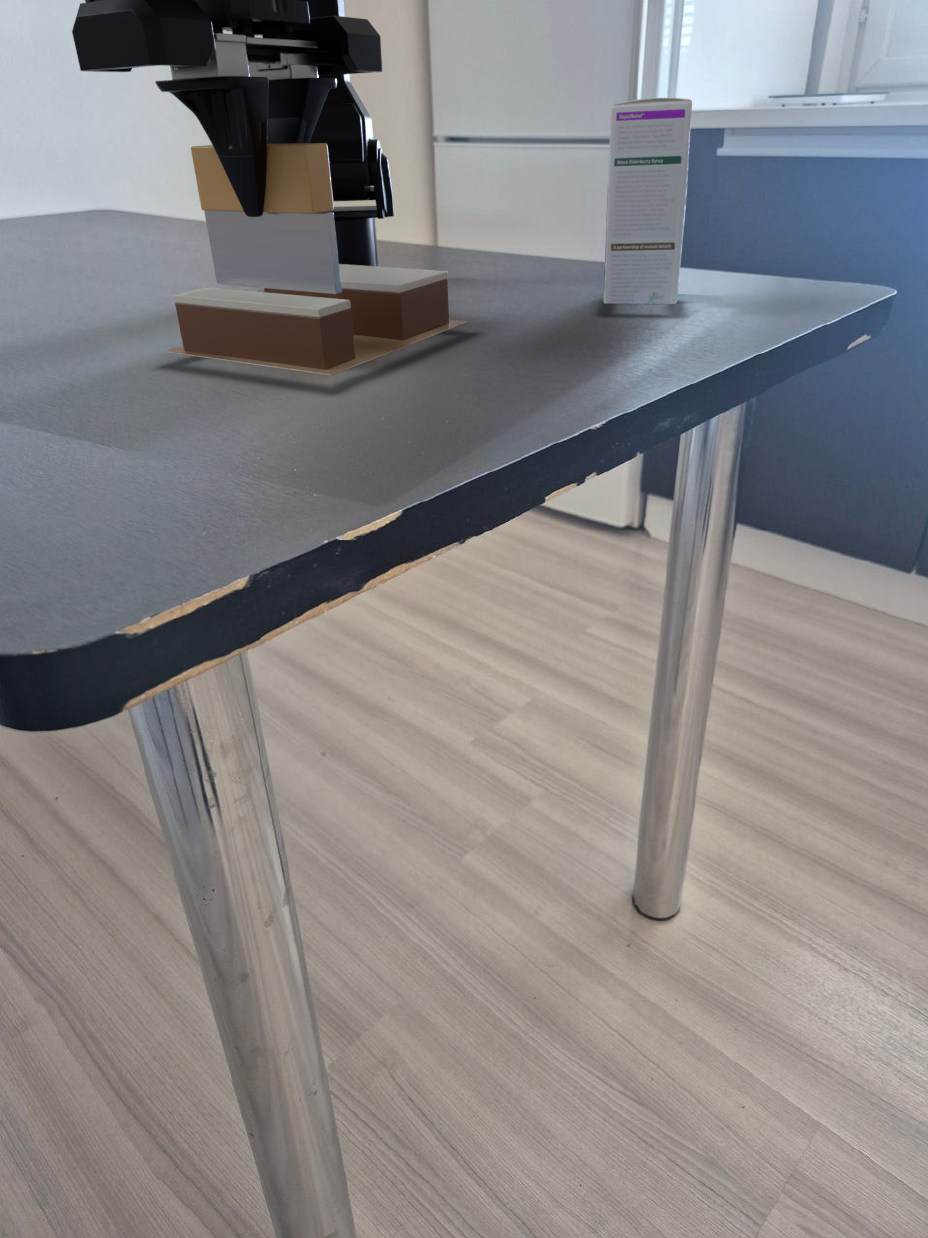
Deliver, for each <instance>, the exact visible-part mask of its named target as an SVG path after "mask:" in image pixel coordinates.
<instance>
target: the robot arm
mask: <svg viewBox="0 0 928 1238" xmlns="http://www.w3.org/2000/svg"><path fill="white" fill-rule="evenodd" d="M344 1H345V0H84V2H81V3H80V2H79V5H78V9H77V13H76V15H75V20H74V22H73V28H72V30H71V34H72V38H73V42H74V47H75V51H76V57H77V61H78V65H79V71H81V72H87V73H88V72H90V73H93V72H95V73H96V72H97V73H131V72H132V70H133V69H136V68H137V69H139V68H144V67H145V68H146V67H157V66H160V67H161V66H162V67H163V66H165V67H166V66H169V67H170V73H171V79H166V80H165V79H164V80H155V81H154V82H155V85H156V87H157V88H158V89H159V91H160V92H161V93H170V94H171V95H173V96H174V97H175V99H177V100H178V101H179V102H180V103H182V104H183V105H184V106H185V107H186V108H187V109H188V110H189V111H191V113H192V114H193V115H194V116H195V117H196V119H197V120H198V122H199V124H200V125H201V127H202V129H203V130H204V132H205V134H206V137H208V140H209V141H210V143H211V145H213V147H214V149H215V151H216V153H217V155H218V158H219V160H220V162H221V164H222V166H223V168H224V170H225V172H226V175H227V177H228V179H229V181H230V183H231V185H232V187H233V189H234V191H235V194H236V196H237V198H238V200H239V202H240V204H241V206H242V208H243V211H244V213H245V214H246V215H247V216H248V217H261V216H262V215H263V210H264V201H265V191H266V161H267V144H293V143H326V144H327V148H328V157H329V167H330V177H331V187H332V196H333V202H356V201H357V202H361V201H362V202H364V201H375V205H356V206H355V205H348V206H334V210H332V211H327V212H333V213H334V222H335V231H336V241H337V251H338V261H339V264H346V265H361V266H377V267H380V265H379V251H378V239H377V238H378V237H377V236H378V235H377V224H376V219H378V220H384V219H385V218H391V217H392V218H393V217H394V216H395V204H394V203H395V202H394V193H393V185H392V177H391V170H390V164H389V158H388V157H387V156H386V155H385V154H384V153H383V149H382V147H381V142H380V140H379V138H374V130H373V121H372V117H371V114H370V113H369V111H368V109H367V108H366V106H365V104H364V102H362V99H361V98H360V96H359V94H358V92H357V91H356V90H355V88H354V86H353V85H352V83H351V75H355V74H370V73H371V74H373V73H382V72H384V71H383V70H384V69H383V55H382V39H381V35H380V34H379V32H378V31H377V29H376V28H375V27H374V26H373V25H372V24H371V22H370V21H369V19H368V18H360V17H351V16H346V15H345V4H344V3H345V2H344ZM224 31H226V32H231V33H224ZM259 36H261V37H259Z"/></svg>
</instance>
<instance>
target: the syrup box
mask: <svg viewBox="0 0 928 1238" xmlns="http://www.w3.org/2000/svg"><path fill="white" fill-rule="evenodd" d="M692 109H693V101H692V99H689V98H680V97H647V98H640V99H639V98H638V99H632V100H627V101H622V102H615V103H613V104H612V105H611V106H610V121H609V122H610V123H609V144H608V145H609V148H608V170H607V171H608V172H607V194H606V218H605V248H604V253H605V254H604V273H603V299H602V300H603V304H615V305H616V304H622V305H623V304H624V305H625V304H626V305H627V304H630V305H631V304H632V305H676V304H677V302H678V296H679V285H680V274H681V262H682V251H683V240H684V231H685V221H686V210H687V209H686V208H687V195H688V182H689V181H688V179H689V164H690V163H689V162H690V145H691V128H692V127H691V125H692V111H693V110H692Z"/></svg>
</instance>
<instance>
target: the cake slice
mask: <svg viewBox="0 0 928 1238" xmlns="http://www.w3.org/2000/svg"><path fill="white" fill-rule="evenodd" d="M172 297H173V300H174V306H175V311H176V316H177V321H178V326H179V332H180V337H181V342H182V346H183V347H184V350H187V351H194V352H202V353H209V354H216V355H223V356H231V357H238V358H245V359H252V360H260V361H267V362H274V363H281V364H289V365H296V366H303V367H310V368H318V369H325V370H326V369H328V368H331V367H334V366H336V365H339V364H342V363H344V362H347V361H349V360H352V359H355V349H354V338H353V327H352V317H351V309H350V308H351V306H350V300H345V299H334V298H323V297H312V296H300V295H289V294H278V293H267V292H264V291H256V290H244V289H243V290H242V289H231V288H223V287H210V286H209V287H208V286H206V287H202V288H196V289H192V290H188V291H184V292H179V293H176V294H173V296H172Z"/></svg>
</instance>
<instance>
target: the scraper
mask: <svg viewBox="0 0 928 1238" xmlns="http://www.w3.org/2000/svg"><path fill="white" fill-rule="evenodd" d="M190 152H191V157H192V164H193V170H194V174H195V182H196V185H197V192H198V198H199V202H200V208H201V209H200V210H202V211H203V212H204V217H205V223H206V228H207V234H208V241H209V246H210V251H211V257H212V263H213V269H214V275H215V280H216V284H217V285H225V286H235V287H246V288H247V287H248V288H259V289H264V288H269V289H280V290H292V291H304V292H315V293H327V294H339V293H341V292H342V290H341V280H340V270H339V261H338V251H337V241H336V231H335V222H334V213H333V212H327V211H332V210H334V207H335V206H334V201H333V196H332V187H331V177H330V167H329V157H328V148H327V144H326V143H293V144H267V161H266V191H265V201H264V210H263V215H262V216H261V217H248V216H247V215H246V214H245V213H244V211H243V208H242V206H241V204H240V202H239V200H238V198H237V196H236V194H235V191H234V189H233V187H232V185H231V183H230V181H229V179H228V177H227V175H226V172H225V170H224V168H223V166H222V164H221V162H220V160H219V158H218V155H217V153H216V151H215V149H214V147H213V145H212V144H205V145H204V144H203V145H192V146H190Z"/></svg>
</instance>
